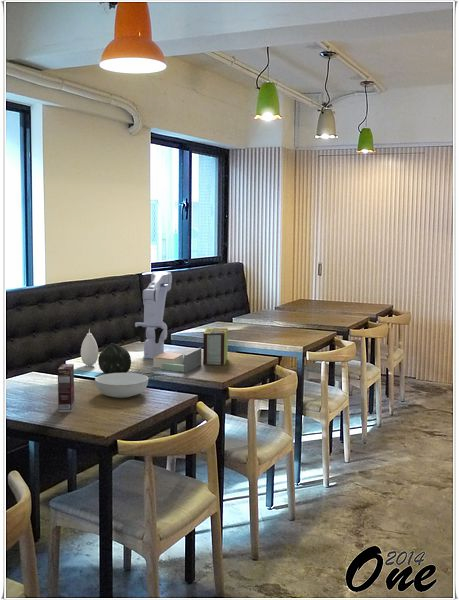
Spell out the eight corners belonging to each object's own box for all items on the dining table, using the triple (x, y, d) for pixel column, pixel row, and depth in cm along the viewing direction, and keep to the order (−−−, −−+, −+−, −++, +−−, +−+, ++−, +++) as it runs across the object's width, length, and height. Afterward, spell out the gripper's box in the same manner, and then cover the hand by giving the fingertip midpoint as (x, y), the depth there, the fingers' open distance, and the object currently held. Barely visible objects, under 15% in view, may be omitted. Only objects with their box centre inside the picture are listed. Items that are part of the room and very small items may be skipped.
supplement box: (61, 405, 245) (61, 363, 243) (74, 405, 245) (74, 363, 243) (57, 412, 236) (57, 369, 234) (71, 412, 237) (70, 369, 235)
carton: (153, 368, 309) (153, 357, 308) (163, 362, 321) (163, 352, 320) (173, 370, 306) (173, 359, 305) (183, 364, 318) (183, 354, 317)
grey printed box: (162, 369, 304) (162, 352, 304) (178, 362, 321) (178, 345, 320) (186, 372, 300) (186, 355, 299) (201, 364, 317) (201, 348, 316)
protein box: (227, 358, 332) (228, 328, 330) (224, 365, 316) (224, 333, 314) (206, 357, 333) (207, 327, 331) (202, 364, 317) (203, 332, 315)
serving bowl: (158, 392, 266) (158, 375, 266) (129, 405, 247) (129, 387, 247) (114, 386, 275) (114, 369, 274) (84, 398, 256) (83, 380, 255)
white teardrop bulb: (88, 368, 304) (88, 330, 302) (77, 366, 308) (77, 328, 306) (101, 366, 310) (101, 328, 308) (90, 363, 315) (90, 326, 312)
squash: (130, 356, 306) (109, 334, 300) (141, 364, 293) (120, 341, 287) (108, 378, 303) (86, 356, 296) (118, 387, 290) (96, 364, 283)
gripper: (132, 314, 312) (132, 342, 313) (160, 315, 307) (160, 344, 309) (139, 312, 319) (138, 340, 320) (166, 314, 314) (166, 342, 315)
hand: (149, 342), depth 315 cm, fingers open, 7 cm apart
